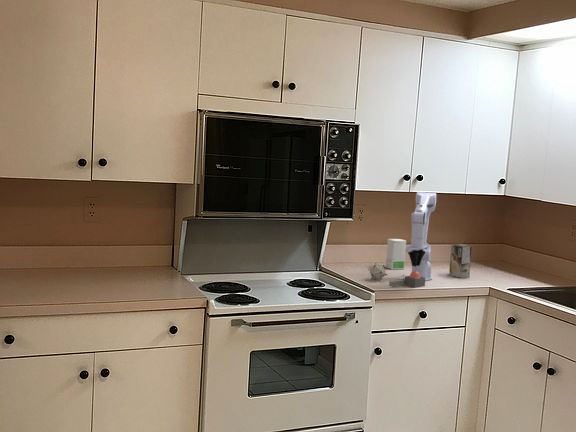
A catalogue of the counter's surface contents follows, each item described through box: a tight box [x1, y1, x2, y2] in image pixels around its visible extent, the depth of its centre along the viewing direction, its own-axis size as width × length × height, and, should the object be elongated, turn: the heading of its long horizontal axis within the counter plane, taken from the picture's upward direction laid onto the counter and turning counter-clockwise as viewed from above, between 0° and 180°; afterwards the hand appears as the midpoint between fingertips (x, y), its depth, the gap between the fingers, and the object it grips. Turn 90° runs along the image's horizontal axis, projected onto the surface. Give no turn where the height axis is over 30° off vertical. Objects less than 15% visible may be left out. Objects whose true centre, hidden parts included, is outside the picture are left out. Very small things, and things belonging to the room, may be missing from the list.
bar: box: [388, 279, 405, 287], centre depth 306 cm, size 9×1×2 cm, turn 126°
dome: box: [409, 271, 420, 279], centre depth 308 cm, size 5×5×5 cm
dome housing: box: [404, 275, 426, 288], centre depth 308 cm, size 7×7×4 cm
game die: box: [367, 262, 388, 282], centre depth 316 cm, size 9×8×10 cm
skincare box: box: [385, 238, 407, 270], centre depth 347 cm, size 8×7×16 cm
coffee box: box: [448, 243, 472, 279], centre depth 334 cm, size 9×6×16 cm
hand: (415, 265), depth 307 cm, fingers open, 2 cm apart
